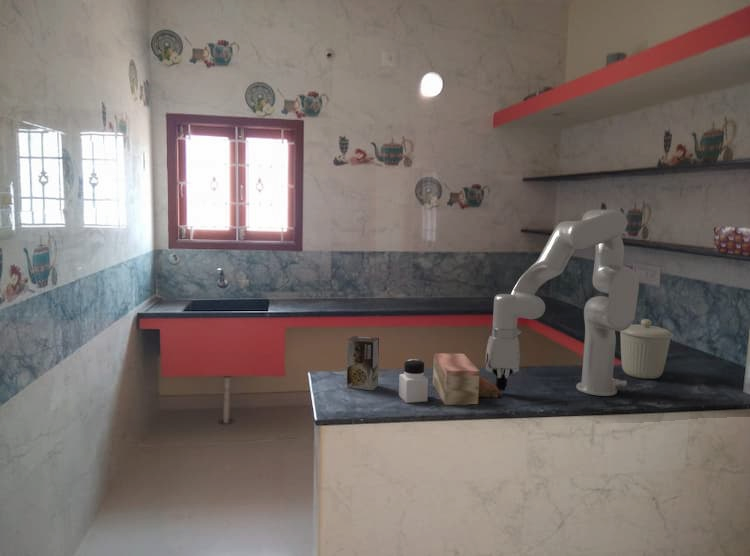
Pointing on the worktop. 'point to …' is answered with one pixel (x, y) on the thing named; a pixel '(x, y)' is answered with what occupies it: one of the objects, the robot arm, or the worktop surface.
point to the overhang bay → (455, 379)
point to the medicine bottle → (413, 382)
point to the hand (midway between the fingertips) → (501, 389)
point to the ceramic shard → (487, 389)
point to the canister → (644, 350)
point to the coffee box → (362, 362)
